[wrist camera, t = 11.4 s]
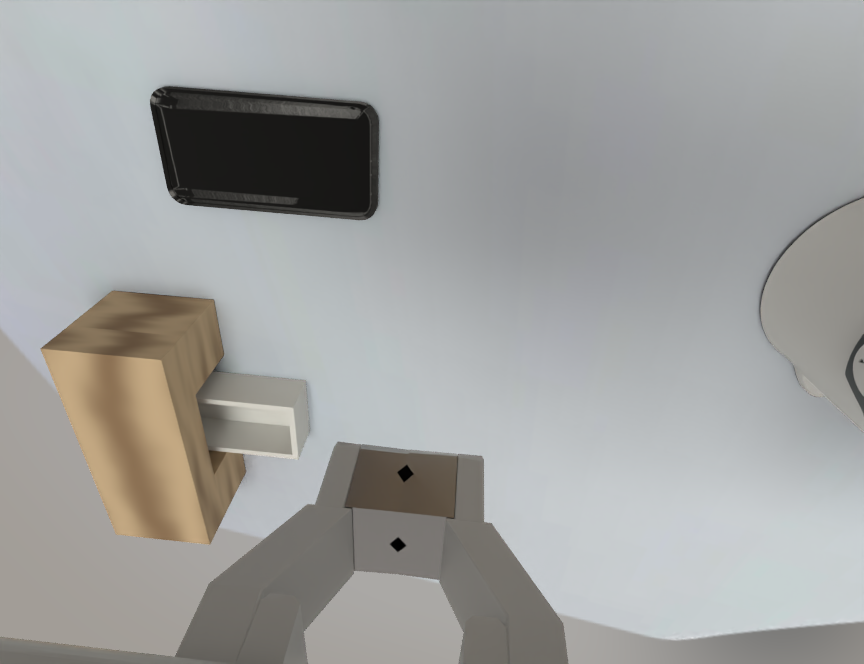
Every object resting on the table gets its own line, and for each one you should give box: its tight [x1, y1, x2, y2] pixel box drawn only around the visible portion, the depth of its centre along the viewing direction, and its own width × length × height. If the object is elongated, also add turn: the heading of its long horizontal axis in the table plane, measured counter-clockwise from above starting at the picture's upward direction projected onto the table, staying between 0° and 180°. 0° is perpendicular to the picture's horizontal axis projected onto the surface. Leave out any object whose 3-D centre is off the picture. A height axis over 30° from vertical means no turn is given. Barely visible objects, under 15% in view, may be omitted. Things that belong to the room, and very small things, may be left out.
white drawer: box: [196, 371, 310, 460], centre depth 48 cm, size 14×6×4 cm, turn 86°
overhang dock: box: [41, 291, 246, 544], centre depth 46 cm, size 8×20×8 cm, turn 177°
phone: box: [150, 86, 379, 220], centre depth 37 cm, size 8×1×15 cm
